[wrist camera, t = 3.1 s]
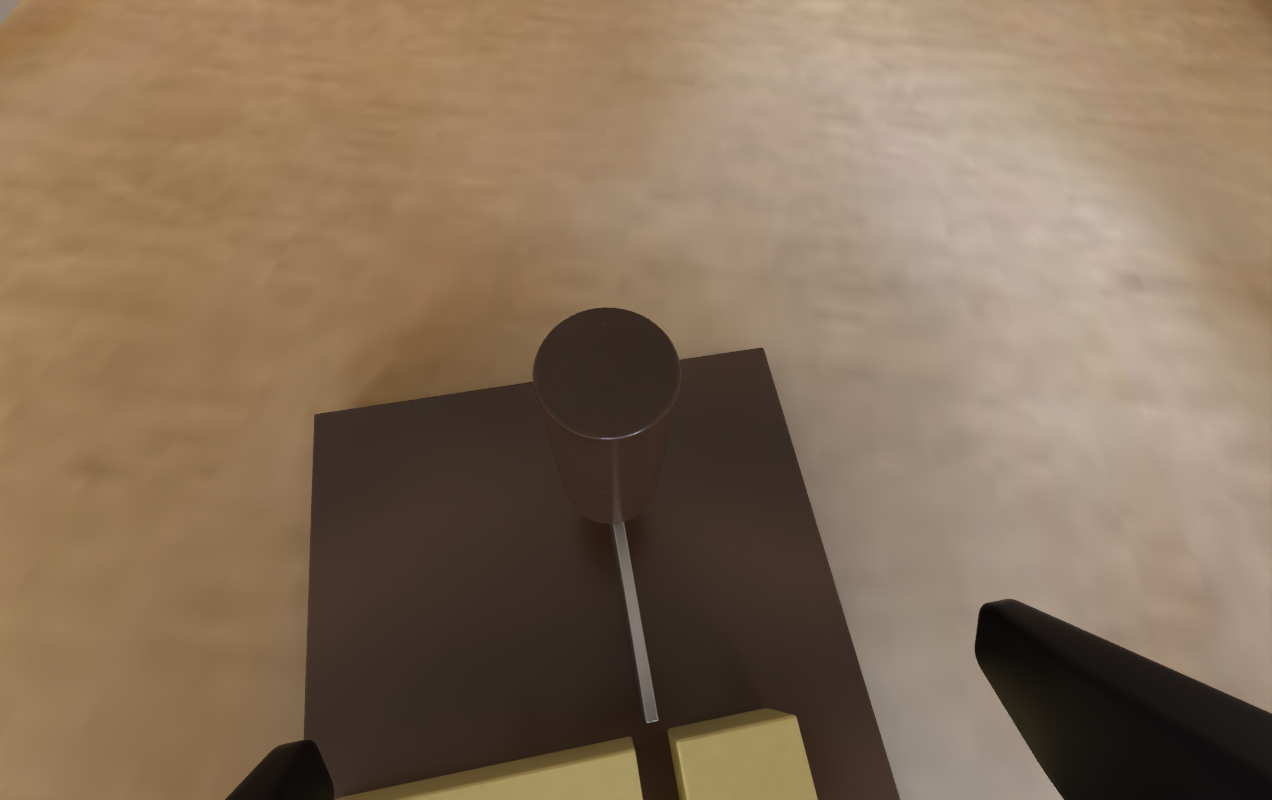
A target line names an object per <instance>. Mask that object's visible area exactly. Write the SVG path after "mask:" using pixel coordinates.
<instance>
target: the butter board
mask: <svg viewBox="0 0 1272 800" xmlns="http://www.w3.org/2000/svg"><path fill="white" fill-rule="evenodd" d="M679 361H680V367H681V382H680V388H679V393H678V397H677V402H676V406H675V411H674V415H673V420H672V424H671V429H670V433H669V438H668V442H667V446H666V451H665V455H664V460H663V464H662V469H661V473H660V478H659V482H658V487H657V490H656V493H655V496H654V498H653V499H652V501H651V503H650V504H649V505H648V507H647V508H646V509H645V510H644V511H643V512H642V513H640V514H639V515H637V516H636V517H634V518H632V519H630V520H628V521H625V522H624V524H625V530H626V536H627V542H628V547H629V553H630V559H631V564H632V570H633V576H634V582H635V587H636V593H637V599H638V604H639V610H640V616H641V622H642V627H643V633H644V639H645V644H646V650H647V656H648V661H649V667H650V673H651V679H652V684H653V690H654V696H655V701H656V707H657V713H658V719H659V720H658V721H656V722H651V723H646V721H645V719H644V717H643V716H642V714H641V710H640V704H639V698H638V692H637V685H636V679H635V673H634V667H633V661H632V655H631V649H630V643H629V637H628V631H627V625H626V619H625V613H624V607H623V601H622V595H621V589H620V583H619V577H618V571H617V565H616V559H615V553H614V547H613V540H612V534H611V528H610V524H605V523H599V522H595V521H592V520H590V519H588V518H586V517H584V516H583V515H581V514H580V513H579V512H578V511H576V509H575V508H574V507H573V506H572V505H571V503H570V502H569V500H568V499H567V497H566V494H565V491H564V488H563V485H562V482H561V478H560V475H559V471H558V468H557V465H556V461H555V458H554V454H553V451H552V447H551V444H550V441H549V437H548V434H547V430H546V427H545V424H544V420H543V417H542V413H541V410H540V406H539V403H538V400H537V396H536V393H535V389H534V384H533V382H528V383H522V384H515V385H508V386H502V387H495V388H488V389H482V390H475V391H468V392H462V393H455V394H448V395H441V396H435V397H428V398H421V399H415V400H408V401H401V402H395V403H388V404H381V405H375V406H368V407H361V408H355V409H348V410H341V411H334V412H328V413H321V414H316V415H315V416H314V444H313V475H312V505H311V535H310V566H309V596H308V627H307V657H306V687H305V718H304V740H312V741H313V742H315V743H316V745H317V747H318V749H319V751H320V753H321V756H322V758H323V761H324V763H325V765H326V768H327V770H328V772H329V775H330V777H331V780H332V783H333V787H334V800H336V799H338V798H340V797H344V796H349V795H354V794H359V793H363V792H368V791H373V790H378V789H382V788H387V787H392V786H397V785H401V784H406V783H411V782H416V781H420V780H425V779H430V778H435V777H439V776H444V775H449V774H454V773H458V772H463V771H468V770H473V769H477V768H482V767H487V766H492V765H496V764H501V763H506V762H511V761H515V760H520V759H525V758H529V757H534V756H539V755H544V754H548V753H553V752H558V751H563V750H567V749H572V748H577V747H582V746H586V745H591V744H596V743H601V742H605V741H610V740H615V739H620V738H624V737H632V739H633V744H634V748H635V753H636V759H637V765H638V772H639V778H640V784H641V790H642V797H643V800H680V799H679V794H678V788H677V783H676V777H675V771H674V766H673V760H672V755H671V749H670V744H669V738H668V729H670V728H673V727H678V726H683V725H688V724H692V723H697V722H702V721H707V720H711V719H716V718H721V717H726V716H730V715H735V714H740V713H745V712H749V711H754V710H759V709H764V708H769V709H773V710H777V711H780V712H784V713H788V714H792V715H795V716H796V717H797V721H798V725H799V729H800V733H801V736H802V740H803V744H804V748H805V752H806V756H807V760H808V764H809V768H810V771H811V775H812V779H813V783H814V787H815V791H816V795H817V799H818V800H900V798H899V794H898V791H897V788H896V784H895V781H894V778H893V775H892V771H891V768H890V765H889V761H888V758H887V755H886V751H885V748H884V745H883V742H882V738H881V735H880V732H879V728H878V725H877V722H876V718H875V715H874V712H873V709H872V705H871V702H870V699H869V695H868V692H867V689H866V685H865V682H864V679H863V676H862V672H861V669H860V666H859V662H858V659H857V656H856V652H855V649H854V646H853V642H852V639H851V636H850V633H849V629H848V626H847V623H846V619H845V616H844V613H843V609H842V606H841V603H840V600H839V596H838V593H837V590H836V586H835V583H834V580H833V576H832V573H831V570H830V567H829V563H828V560H827V557H826V553H825V550H824V547H823V543H822V540H821V537H820V534H819V530H818V527H817V524H816V520H815V517H814V514H813V510H812V507H811V504H810V501H809V497H808V494H807V491H806V487H805V484H804V481H803V477H802V474H801V471H800V467H799V464H798V461H797V458H796V454H795V451H794V448H793V444H792V441H791V438H790V434H789V431H788V428H787V425H786V421H785V418H784V415H783V411H782V408H781V405H780V401H779V398H778V395H777V392H776V388H775V385H774V382H773V378H772V375H771V372H770V368H769V365H768V362H767V359H766V355H765V352H764V349H763V348H756V349H749V350H742V351H736V352H729V353H722V354H716V355H709V356H702V357H696V358H689V359H682V360H679Z"/></svg>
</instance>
